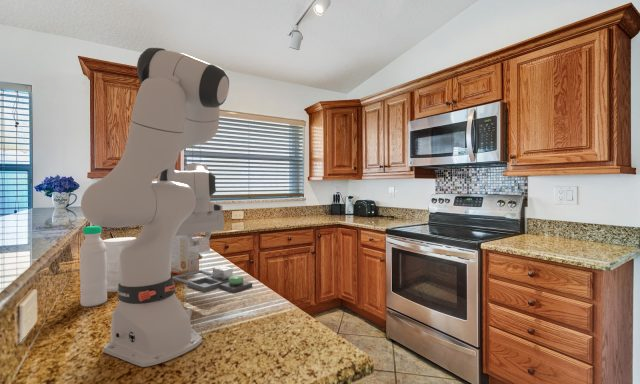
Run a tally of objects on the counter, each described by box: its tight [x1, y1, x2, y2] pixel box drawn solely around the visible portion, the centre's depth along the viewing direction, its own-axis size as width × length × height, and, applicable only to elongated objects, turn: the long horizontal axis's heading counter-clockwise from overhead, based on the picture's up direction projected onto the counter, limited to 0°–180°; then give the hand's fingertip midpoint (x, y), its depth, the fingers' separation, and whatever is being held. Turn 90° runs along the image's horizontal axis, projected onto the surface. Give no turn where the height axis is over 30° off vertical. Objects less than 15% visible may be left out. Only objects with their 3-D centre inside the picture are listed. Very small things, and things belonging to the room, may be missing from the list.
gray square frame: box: [172, 269, 213, 285], centre depth 125 cm, size 12×12×2 cm
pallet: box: [186, 275, 229, 293], centre depth 117 cm, size 11×15×3 cm
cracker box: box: [171, 233, 200, 275], centre depth 135 cm, size 14×6×21 cm, turn 58°
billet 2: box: [212, 265, 234, 281], centre depth 120 cm, size 7×4×5 cm, turn 52°
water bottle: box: [78, 225, 108, 308], centre depth 101 cm, size 7×7×25 cm
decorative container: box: [102, 236, 137, 293], centre depth 118 cm, size 12×12×18 cm
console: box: [219, 280, 253, 293], centre depth 112 cm, size 8×8×2 cm
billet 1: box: [189, 236, 211, 254], centre depth 115 cm, size 7×4×5 cm, turn 55°
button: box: [229, 275, 244, 285], centre depth 112 cm, size 5×5×4 cm
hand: (199, 245), depth 115 cm, fingers closed on billet 1, 4 cm apart
